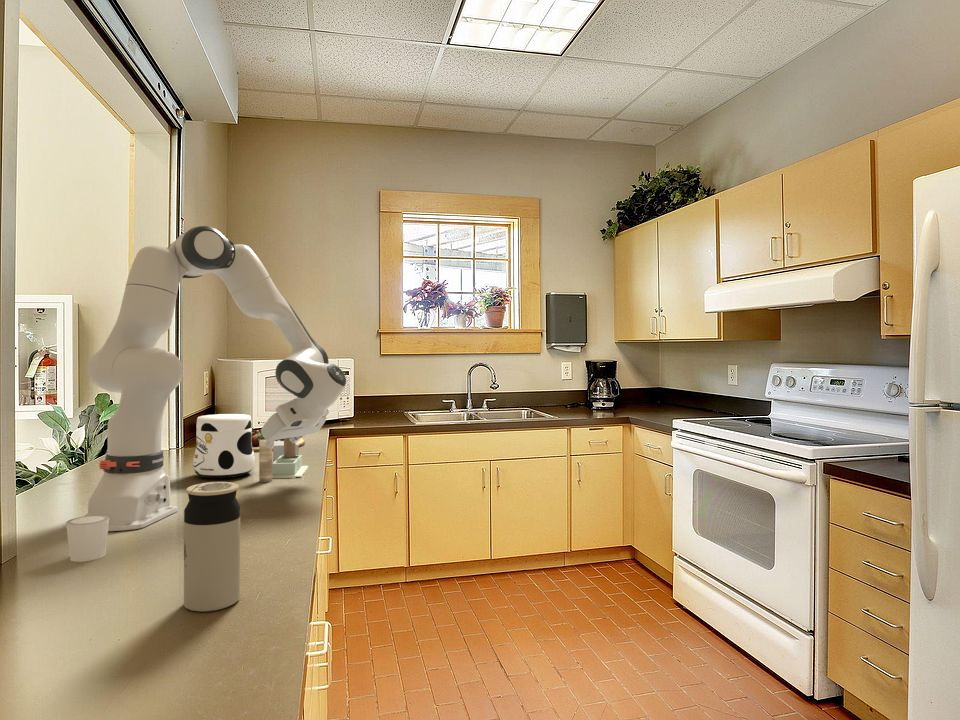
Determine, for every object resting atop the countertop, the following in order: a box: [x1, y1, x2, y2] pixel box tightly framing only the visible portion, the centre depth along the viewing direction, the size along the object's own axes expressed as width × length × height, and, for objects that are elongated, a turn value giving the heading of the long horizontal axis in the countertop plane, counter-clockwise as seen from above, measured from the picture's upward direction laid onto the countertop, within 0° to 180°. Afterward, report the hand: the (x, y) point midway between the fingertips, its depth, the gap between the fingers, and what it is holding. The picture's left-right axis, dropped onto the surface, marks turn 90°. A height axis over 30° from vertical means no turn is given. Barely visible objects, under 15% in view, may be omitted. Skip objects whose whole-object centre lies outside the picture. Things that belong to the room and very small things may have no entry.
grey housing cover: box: [272, 441, 300, 463], centre depth 209 cm, size 10×8×7 cm
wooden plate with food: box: [251, 429, 306, 453], centre depth 247 cm, size 32×32×8 cm
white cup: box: [65, 515, 109, 563], centre depth 116 cm, size 7×7×7 cm
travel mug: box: [183, 481, 241, 613], centre depth 96 cm, size 8×8×18 cm
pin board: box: [272, 437, 310, 479], centre depth 195 cm, size 16×11×13 cm
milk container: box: [192, 413, 256, 479], centre depth 189 cm, size 17×17×18 cm
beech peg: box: [258, 440, 273, 483], centre depth 182 cm, size 4×4×12 cm
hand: (280, 443), depth 180 cm, fingers open, 8 cm apart
